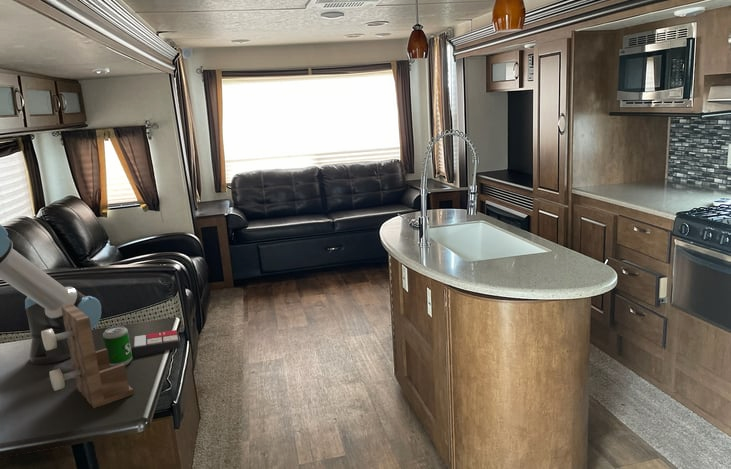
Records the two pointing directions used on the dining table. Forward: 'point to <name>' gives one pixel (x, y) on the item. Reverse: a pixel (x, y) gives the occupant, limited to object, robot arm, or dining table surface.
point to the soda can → (117, 345)
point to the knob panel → (93, 362)
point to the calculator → (155, 343)
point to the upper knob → (54, 338)
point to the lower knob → (62, 378)
